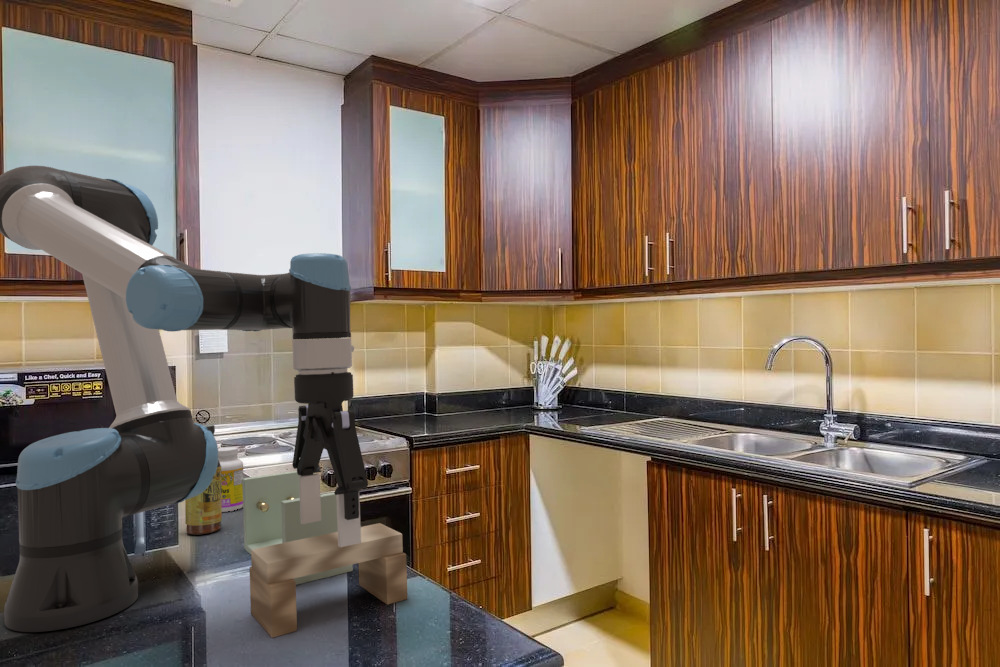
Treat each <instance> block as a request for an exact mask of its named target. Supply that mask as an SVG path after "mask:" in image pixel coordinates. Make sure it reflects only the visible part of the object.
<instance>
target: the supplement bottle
mask: <svg viewBox="0 0 1000 667" xmlns="http://www.w3.org/2000/svg"><path fill="white" fill-rule="evenodd" d="M238 454H239V448H238V447H237V446H225V447H218V460H219V462H220V465H221V491H222V513H228V511H230V512H234V510H235V511H238V510H240V509H243V485H242V479H243V478H244V463H243V460H242V459H240V458H238ZM237 509H238V510H237Z"/></svg>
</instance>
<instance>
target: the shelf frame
mask: <svg viewBox="0 0 1000 667" xmlns="http://www.w3.org/2000/svg"><path fill="white" fill-rule="evenodd" d="M299 476H301V475H298V473H297V470H292V471H286V472H278V473H273V474H265V475H258V476H251V477H250V476H249V477H243V479H242V485H243V507H242V509H243V513H242V516H243V544H244V546H243V548H244V549H243V550H245V551H246V552H247V553H248V554H250V555H251V550H252V549H257V548H261V547H266V546H271V545H276V544H281V543H286V542H291V541H295V540H300V539H305V538H310V537H315V536H320V535H324V534H329V533H334V532H338V529H337V500H336V495H335V493H334V492H335V491H334V492H333V491H332V492H327V493H320V497H321V521H317V522H312V523H306V524H301V520H300V491H299ZM353 566H354V564H352V565H348V566H344V567H340V568H335V569H331V570H327V571H323V572H319V573H315V574H310V575H306V576H302V577H298V578H294V580H295V581H296V586H297V585H300V584H304V583H308V582H309V583H310V582H312V581H317V580H321V579H325V578H329V577H333V576H337V575H341V574H346V573H349V572H353V570H354V569H353Z"/></svg>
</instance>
